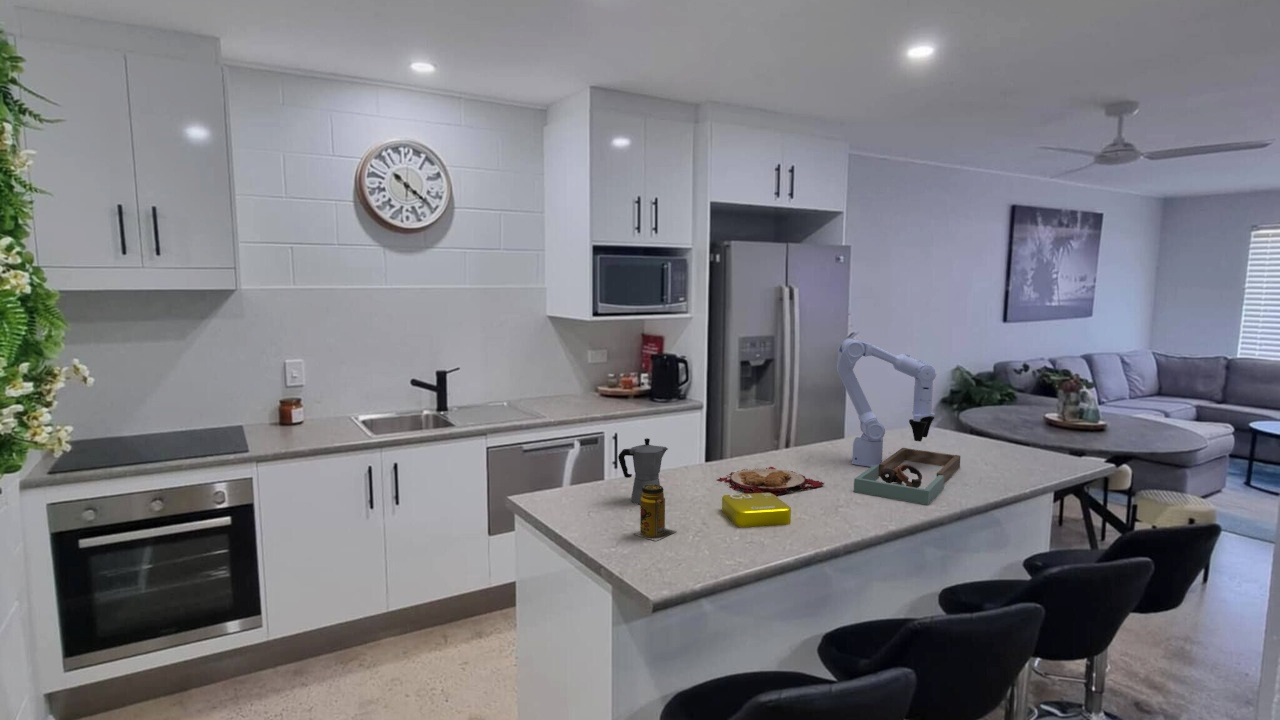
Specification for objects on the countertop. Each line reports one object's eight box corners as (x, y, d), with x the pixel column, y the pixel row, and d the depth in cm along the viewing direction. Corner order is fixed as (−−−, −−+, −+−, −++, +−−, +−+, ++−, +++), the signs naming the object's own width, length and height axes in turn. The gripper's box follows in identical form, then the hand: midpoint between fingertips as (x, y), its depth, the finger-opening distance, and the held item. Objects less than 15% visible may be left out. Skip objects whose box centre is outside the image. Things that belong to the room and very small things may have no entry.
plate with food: (825, 489, 210) (826, 477, 210) (758, 500, 197) (759, 488, 196) (771, 471, 231) (771, 461, 231) (707, 480, 218) (707, 469, 217)
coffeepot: (659, 492, 203) (660, 433, 201) (675, 502, 194) (675, 439, 192) (611, 499, 196) (611, 438, 194) (625, 509, 188) (625, 445, 186)
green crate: (853, 491, 205) (854, 478, 205) (873, 477, 221) (874, 464, 220) (928, 505, 193) (928, 491, 192) (943, 488, 209) (944, 475, 208)
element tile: (737, 529, 174) (738, 510, 174) (719, 510, 189) (720, 493, 188) (793, 525, 177) (793, 507, 176) (771, 506, 192) (771, 490, 191)
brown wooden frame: (878, 476, 222) (879, 464, 221) (902, 458, 244) (902, 447, 244) (941, 486, 211) (942, 473, 210) (959, 467, 233) (960, 455, 233)
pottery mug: (909, 484, 215) (921, 465, 210) (915, 505, 207) (928, 486, 202) (872, 474, 215) (883, 455, 210) (877, 495, 207) (889, 476, 202)
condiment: (632, 534, 169) (633, 487, 168) (654, 525, 176) (654, 479, 174) (655, 541, 164) (656, 493, 163) (677, 532, 171) (677, 485, 170)
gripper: (930, 403, 224) (928, 444, 225) (940, 397, 235) (938, 436, 237) (907, 401, 228) (905, 441, 229) (918, 395, 240) (916, 434, 241)
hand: (920, 439), depth 233 cm, fingers open, 7 cm apart
